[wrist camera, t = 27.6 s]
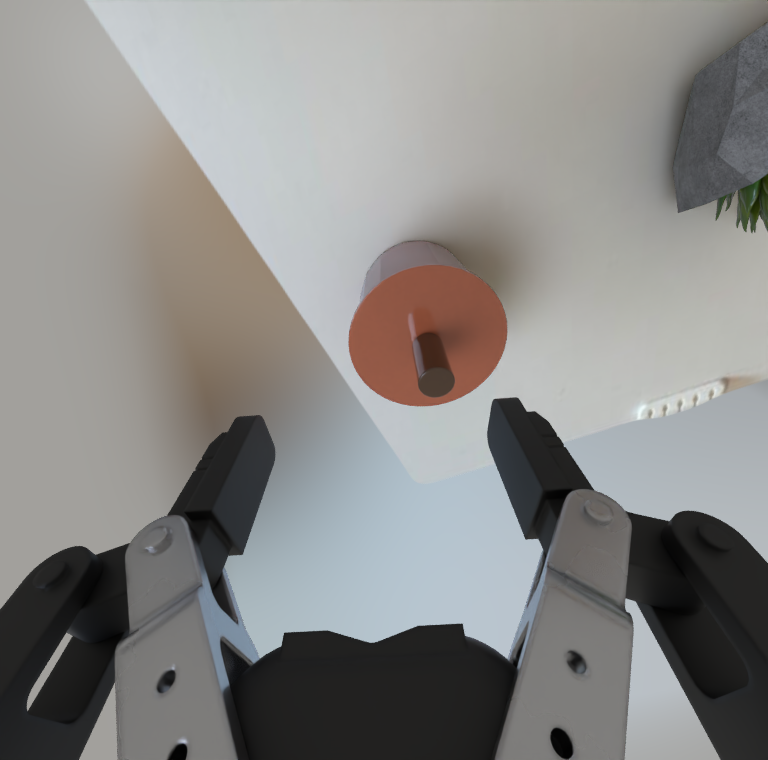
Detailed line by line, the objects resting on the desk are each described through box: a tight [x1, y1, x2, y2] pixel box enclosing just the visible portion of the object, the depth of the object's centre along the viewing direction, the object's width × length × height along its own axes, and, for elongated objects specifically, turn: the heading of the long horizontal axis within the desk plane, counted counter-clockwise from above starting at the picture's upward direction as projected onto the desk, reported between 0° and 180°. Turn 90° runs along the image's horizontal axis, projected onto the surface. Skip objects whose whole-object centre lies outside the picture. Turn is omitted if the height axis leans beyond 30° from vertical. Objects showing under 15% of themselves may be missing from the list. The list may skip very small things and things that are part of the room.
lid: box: [349, 263, 507, 406], centre depth 22 cm, size 12×12×6 cm
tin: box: [360, 241, 467, 302], centre depth 29 cm, size 11×11×10 cm
